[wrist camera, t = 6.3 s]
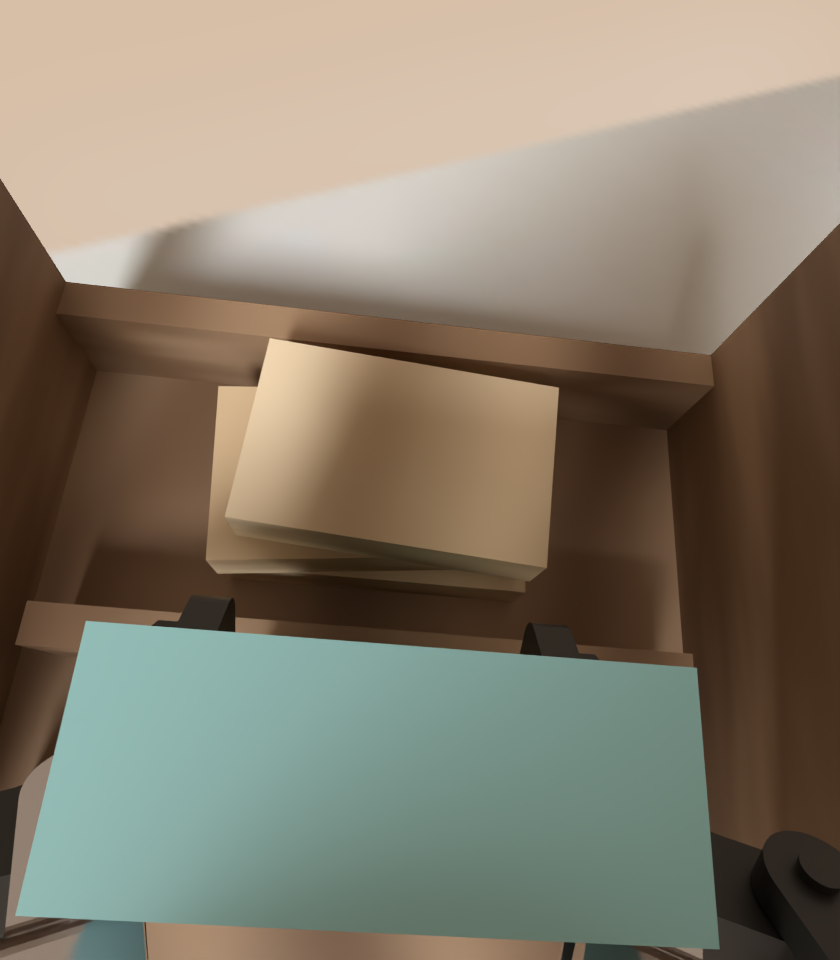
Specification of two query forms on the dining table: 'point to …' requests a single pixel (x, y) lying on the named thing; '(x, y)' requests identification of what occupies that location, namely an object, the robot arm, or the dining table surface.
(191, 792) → the teal board
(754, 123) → the dining table surface
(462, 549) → the offcut stack
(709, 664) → the walnut rack
